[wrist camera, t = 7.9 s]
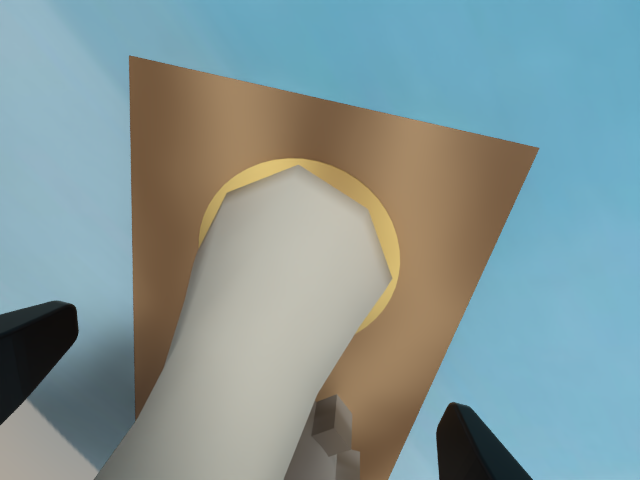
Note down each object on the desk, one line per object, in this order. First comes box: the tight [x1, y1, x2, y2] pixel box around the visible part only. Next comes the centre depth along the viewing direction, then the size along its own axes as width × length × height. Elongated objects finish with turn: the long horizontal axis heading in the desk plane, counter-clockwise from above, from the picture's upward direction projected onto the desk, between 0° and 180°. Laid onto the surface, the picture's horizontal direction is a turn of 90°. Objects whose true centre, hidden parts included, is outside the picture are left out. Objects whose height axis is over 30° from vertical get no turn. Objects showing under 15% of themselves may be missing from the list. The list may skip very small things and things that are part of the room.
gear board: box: [129, 55, 539, 480], centre depth 14 cm, size 14×22×4 cm, turn 168°
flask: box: [94, 164, 392, 480], centre depth 8 cm, size 7×7×10 cm
